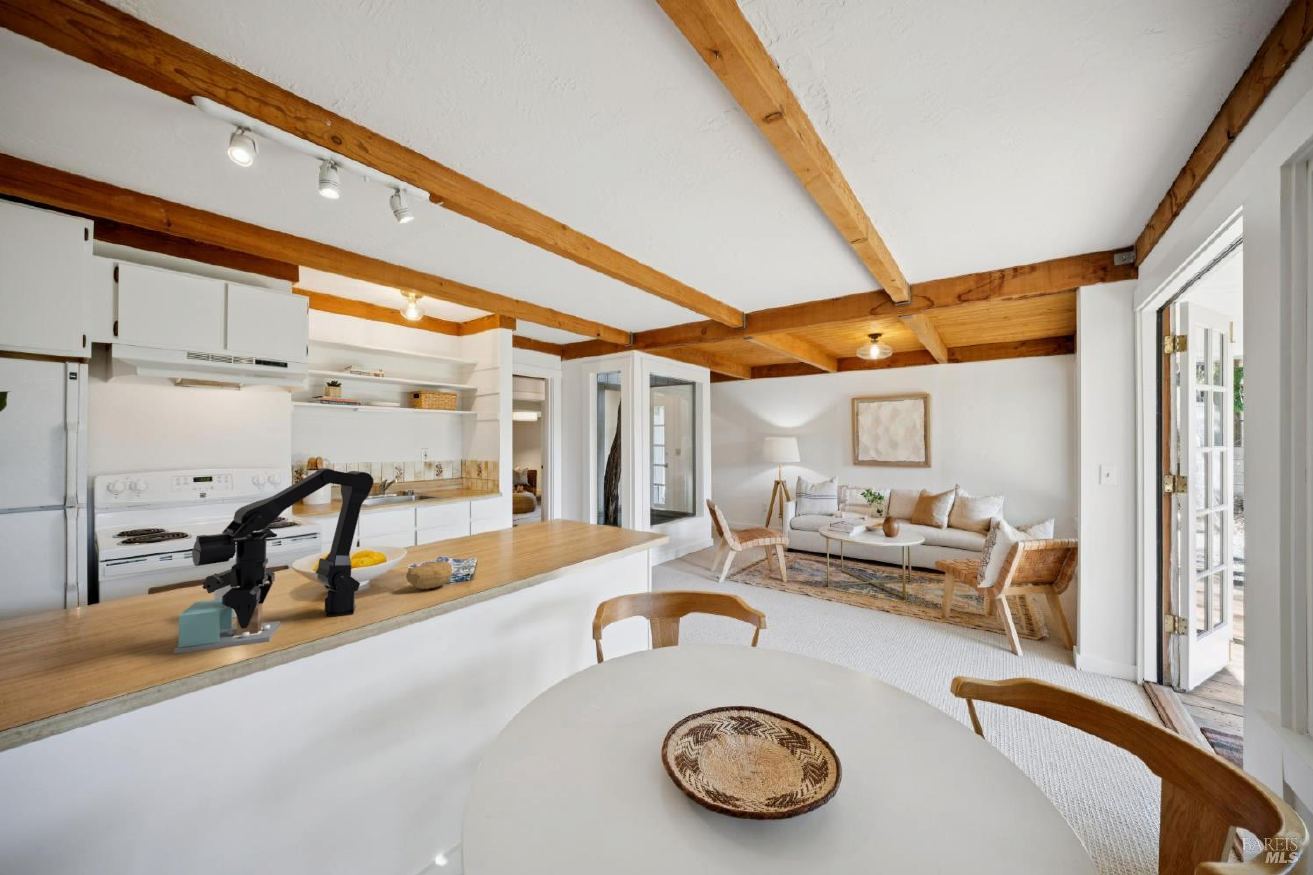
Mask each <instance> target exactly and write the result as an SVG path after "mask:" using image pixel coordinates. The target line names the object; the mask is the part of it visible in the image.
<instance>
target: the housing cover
mask: <svg viewBox="0 0 1313 875" xmlns="http://www.w3.org/2000/svg"><path fill="white" fill-rule="evenodd" d="M232 610H233V609H232V608H230V607H226V606H225V605H222V599H221V600H214V599H213V600H212V599H211V600H204V601H202V600H201V601H196V602H194V603H192V604H191V605H190V606H189V607H188V608H187V609H185V610H184V611H183V612H182V613H180V614H179V616H178V642H177V643H178V645H177V646H178V648H179V647H187V646H194V645H202V644H210V643H217V642H219V640H220V629H227V628H232V627H233V618H232Z"/></svg>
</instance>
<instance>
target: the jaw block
mask: <svg viewBox="0 0 1313 875" xmlns="http://www.w3.org/2000/svg"><path fill="white" fill-rule="evenodd" d="M263 604H264V603H261V604H258V605H257V607H256V609H255V611H254V614H253V616H252V618H251V620H250V623H249V625H248V627H247V628H244V629H241V627H240V624H239V621H238V618H237V617H236V626H237V636H239V635H242V633H243V632H249V634H255V633H258V632H259V631H260V629H261V628H262V623H263Z"/></svg>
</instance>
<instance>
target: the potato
mask: <svg viewBox="0 0 1313 875" xmlns="http://www.w3.org/2000/svg"><path fill="white" fill-rule="evenodd" d="M452 574H453V568H452V566H451V563H450V562H448V561H436V562H427V563H423V564H421V565H417V566H414V567H412V568H410V569H409V570H408V572H407V573H406V575H405V578H406V581H407V582H408V583H409V584H410V585H412V586H413V587H414V588H416V589H417V590H418V589H419V590H431V589H430V588H432V589H435V588H437V587H440V586H443V585H444V584H446V583H448V581H450V579H451V578H452Z"/></svg>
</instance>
